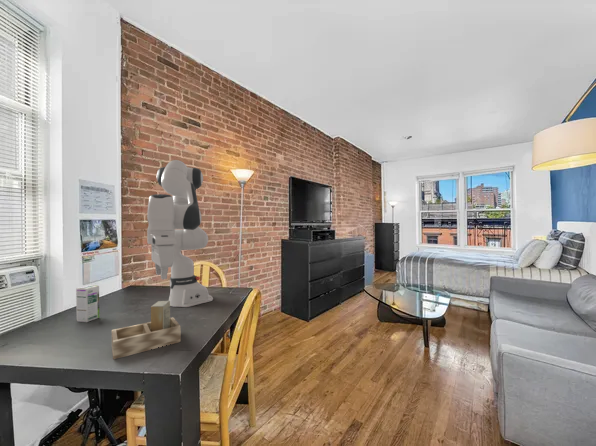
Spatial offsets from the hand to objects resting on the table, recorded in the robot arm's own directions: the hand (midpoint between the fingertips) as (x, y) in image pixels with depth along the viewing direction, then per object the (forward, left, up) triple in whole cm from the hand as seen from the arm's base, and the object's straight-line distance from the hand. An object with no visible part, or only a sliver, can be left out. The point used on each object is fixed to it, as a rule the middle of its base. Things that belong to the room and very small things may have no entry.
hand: (161, 276), depth 93 cm
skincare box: (0, 0, -22) cm, 22 cm away
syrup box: (+22, -42, -23) cm, 52 cm away
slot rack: (+5, 0, -23) cm, 23 cm away
